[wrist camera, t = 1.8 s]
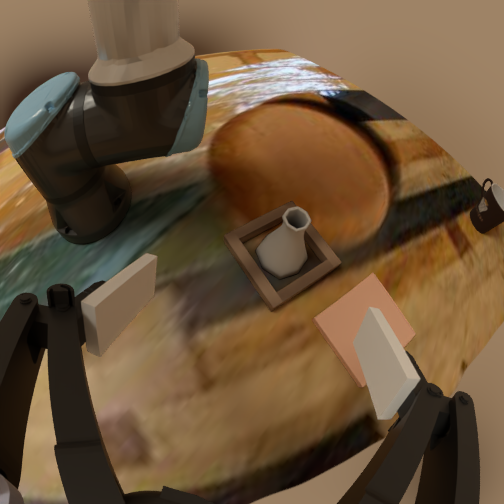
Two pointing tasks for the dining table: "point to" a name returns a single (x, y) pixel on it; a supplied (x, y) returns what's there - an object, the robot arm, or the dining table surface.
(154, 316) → the dining table surface
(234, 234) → the walnut holder
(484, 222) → the coffee mug
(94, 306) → the robot arm
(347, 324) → the terracotta coaster
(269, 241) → the flask
